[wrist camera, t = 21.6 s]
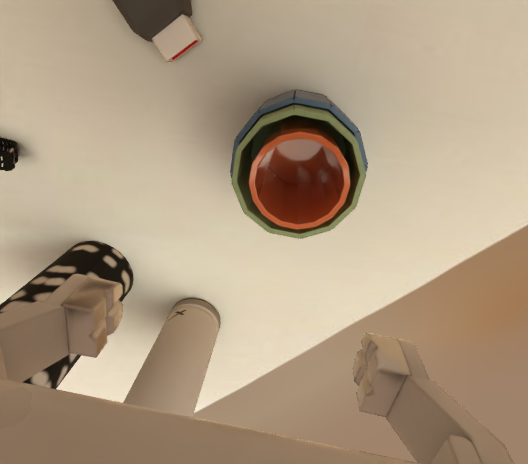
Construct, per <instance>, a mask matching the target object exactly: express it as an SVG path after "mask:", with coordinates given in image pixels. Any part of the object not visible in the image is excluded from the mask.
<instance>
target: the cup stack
mask: <svg viewBox="0 0 528 464" xmlns="http://www.w3.org/2000/svg"><path fill="white" fill-rule="evenodd" d="M292 115H298V116H303V117H308V118H313V119H318V120H322V121H323V122H324V123H325V124H326V125H328V127H329V128H330V130H331V132H332V133H333V135H334V137H335V139H336V141H337V143H338V145H339V147H340V149H341V151H342V153H343V155H344V157H345V159H346V161H347V163H348V166H349V175H350V188H349V191H348V194H347V197H346V201H345V203H344V204H343V206H342V207H341V208H340V209H339V210H338V212H337V213H336V214H335V215H334V216H333V217H332V218H331V219H329V220H327V221H325V222H324V223H322V224H320V225H318V226H316V227H311V228H304V229H292V228H288V227H283V226H279V225H277V224H276V223H274V222H273V221H271V220H270V219H268V218H266V217H265V216H264V215H263V214H262V213H261V211H260V210H259V209H258V207H257V206H256V204H255V203H254V202H253V199H252V195H251V191H250V186H249V177H250V172H251V166H252V163H253V161H254V159H255V157H256V154H257V152H258V150H259V148H260V146H261V144H262V142H263V140H264V138H265V136H266V135H267V133H268V132H269V130H270V129H271V127H272V126H273V125H274V124H275V123H276V122H278V121H279V120H281V119H284V118H286V117H289V116H292ZM367 165H368V163H367V159H366V155H365V151H364V147H363V143H362V139H361V134H360V131H359V130H358V128H357V127H356V126H355V125H354V124H353V123H352V122H351V121H350V119H349V118H348V117H347V116H346V115H345V114H344V113H343V112H342V111H341V110H340V109H339V108H338V107H337V106H336V105H335V104H333V103H332V102H331V101H330V100H329V99H328V98H327V97H326V96H324V95H321V94H316V93H311V92H306V91H301V90H296V91H295V90H292V91H290V92H287V93H284V94H282V95H279V96H276V97H274V98H271V99H268V100H267V101H266V102H265V103H264V104H263V105H262V106H261V107H260V108H259V109H258V110H257V112H256V113H255V114H254V115H253V117H252V118H251V119H250V120H249V122H248V123H247V124H246V125H245V127H244V128H243V129H242V130H241V132H240V133H239V134H238V136H237V137H236V139H235V141H234V148H233V155H232V162H231V170H230V173H231V178H232V185H233V188H234V190H235V193H236V195H237V198H238V200H239V202H240V205H241V207H242V210H243V212H244V213H245V214H246V215H247V216H249V217H250V218H251V219H252V220H254V221H255V222H256V223H257V224H259V225H260V226H261V227H262V228H264V229H265V230H266V231H267V232H269V233H274V234H279V235H284V236H289V237H294V238H305V237H308V236H312V235H316V234H319V233H323V232H326V231H330V230H331V229H333V228H334V227H335V226H336V225H337V224H339V223H340V222H341V221H342V220H343V219H344V218H345V217H346V216H347V215H348V214H349V213H350V212H351V211H352V210H353V209H355V207H356V205H357V202H358V199H359V196H360V193H361V190H362V186H363V183H364V180H365V177H366V175H365V174H366V171H367V167H368V166H367Z"/></svg>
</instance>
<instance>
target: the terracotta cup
mask: <svg viewBox="0 0 528 464" xmlns="http://www.w3.org/2000/svg"><path fill="white" fill-rule="evenodd" d="M249 186H250V191H251V195H252V199H253V202H254V203H255V204H256V206H257V207H258V209H259V210H260V211H261V213H262V214H263V215H264V216H265V217H266V218H268V219H270V220H271V221H273V222H274V223H276V224H277V225H279V226H283V227H288V228H292V229H304V228H311V227H316V226H318V225H320V224H322V223H324V222H325V221H327V220H329V219H331V218H332V217H333V216H334V215H335V214H336V213H337V212H338V210H339V209H340V208H341V207H342V206H343V204H344V203H345V201H346V197H347V194H348V191H349V188H350V175H349V166H348V163H347V161H346V159H345V157H344V155H343V153H342V151H341V149H340V147H339V145H338V143H337V141H336V139H335V137H334V135H333V133H332V132H331V130H330V128H329V127H328V125H326V124H325V123H324V122H323V121H322V120H318V119H313V118H308V117H303V116H298V115H292V116H289V117H286V118H284V119H281V120H279V121H278V122H276V123H275V124H274V125H273V126H272V127H271V129H270V130H269V132H268V133H267V135H266V136H265V138H264V140H263V142H262V144H261V146H260V148H259V150H258V152H257V154H256V157H255V159H254V161H253V163H252V166H251V172H250V177H249Z"/></svg>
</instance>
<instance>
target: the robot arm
mask: <svg viewBox="0 0 528 464" xmlns="http://www.w3.org/2000/svg"><path fill="white" fill-rule="evenodd" d="M122 294H123V289H122V285H121V283H118V282H113V281H109V280H104V279H100V278H95V277H90V276H86V275H81V274H73V275H72V276H71V277H69V278H68V279H67V280H66V281H65V282H64V283H63V284H62V285H61V286H60V287H58V288H57V289H56V290H55V291H54V292H53V293H52V294H51V295H50V296H49V297H47V298H46V299H45V300H44V301H43V302H40V301H37V302H34V303H31V304H28V305H25V306H22V307H19V308H16V309H13V310H10V311H7V312H4V313H1V314H0V464H514V462H513V460H512V458H511V457H510V455H509V453H508V451H507V449H506V447H505V445H504V444H503V443H502V442H501V441H500V440H499V439H498V438H496V437H495V436H494V435H493V434H492V433H491V432H490V431H489V430H487V429H486V428H485V427H484V426H483V425H482V424H481V423H480V422H479V421H478V420H477V419H476V418H474V417H473V416H472V415H471V414H470V413H469V412H468V411H467V410H466V409H465V408H464V407H462V406H461V405H460V404H459V403H458V402H457V401H456V400H455V399H453V397H451V396H450V395H449V394H448V393H447V392H446V391H445V390H444V389H443V388H442V387H440V386H439V385H438V384H437V383H436V382H435V381H431V380H430V379H429V377H428V375H427V372H426V370H425V367H424V365H423V363H422V360H421V358H420V355H419V353H418V351H417V348H416V346H415V344H414V343H413V342H412V341H410V340H405V339H399V338H391V337H386V336H381V335H376V334H370V333H365V335H364V336H363V338H362V341H361V343H362V349H361V350H359V351H358V352H357V354H356V357H355V359H354V366H353V376H354V381H355V383H356V384H357V385H358V386H359V388H358V390H357V392H356V394H357V399H358V405H359V411H361V412H365V413H370V414H374V415H378V416H383V417H387V418H386V419H387V420H388V422H389V423H390V424H391V426H392V427H393V429H394V430H395V431H396V433H397V434H398V436H399V437H400V439H401V440H402V441H403V443H404V444H405V446H406V447H407V449H408V450H409V451H410V453H411V454H412V455H413V457H414V458H415V460H416V461H417V463H415V462H410V461H405V460H400V459H396V458H390V457H386V456H381V455H375V454H371V453H366V452H361V451H356V450H351V449H346V448H341V447H335V446H331V445H326V444H321V443H317V442H311V441H307V440H302V439H297V438H292V437H287V436H283V435H278V434H273V433H268V432H263V431H258V430H253V429H248V428H243V427H238V426H233V425H229V424H224V423H219V422H214V421H209V420H204V419H199V418H194V417H189V416H184V415H179V414H175V413H170V412H165V411H160V410H155V409H150V408H145V407H140V406H135V405H130V404H125V403H120V402H116V401H111V400H106V399H101V398H96V397H91V396H86V395H81V394H76V393H71V392H66V391H61V390H57V389H52V388H47V387H42V386H37V385H32V384H27V383H22V382H23V381H25V380H27V379H28V378H30V377H32V376H33V375H35V374H37V373H38V372H40V371H42V370H44V369H45V368H47V367H49V366H50V365H52V364H54V363H55V362H57V361H59V360H60V359H62V358H64V357H65V356H67V355H69V353H72V354H78V355H83V356H89V357H95V358H96V357H97V356H98V354H99V353H100V352H101V350H102V349H103V347H104V346H105V344H106V343H107V336H108V335H110V334H112V333H114V331H115V330H116V328H117V327H118V325H119V323H120V320H121V317H122V312H123V304H122V303H121V301H120V300H119V298H120V297H121V295H122Z"/></svg>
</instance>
